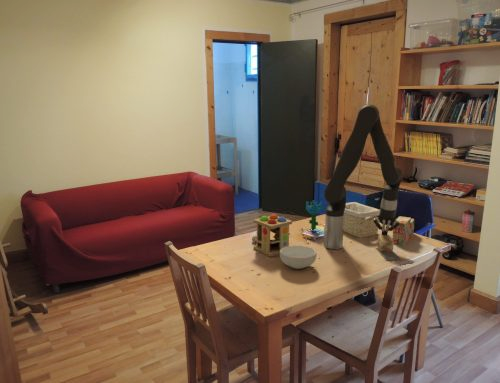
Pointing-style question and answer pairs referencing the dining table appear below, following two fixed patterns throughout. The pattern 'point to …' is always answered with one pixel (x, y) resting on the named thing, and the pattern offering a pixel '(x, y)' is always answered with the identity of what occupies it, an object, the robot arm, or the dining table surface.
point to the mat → (389, 256)
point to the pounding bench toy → (263, 234)
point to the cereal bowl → (298, 256)
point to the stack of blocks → (403, 230)
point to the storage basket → (360, 219)
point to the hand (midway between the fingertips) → (384, 236)
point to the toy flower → (313, 212)
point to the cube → (385, 243)
